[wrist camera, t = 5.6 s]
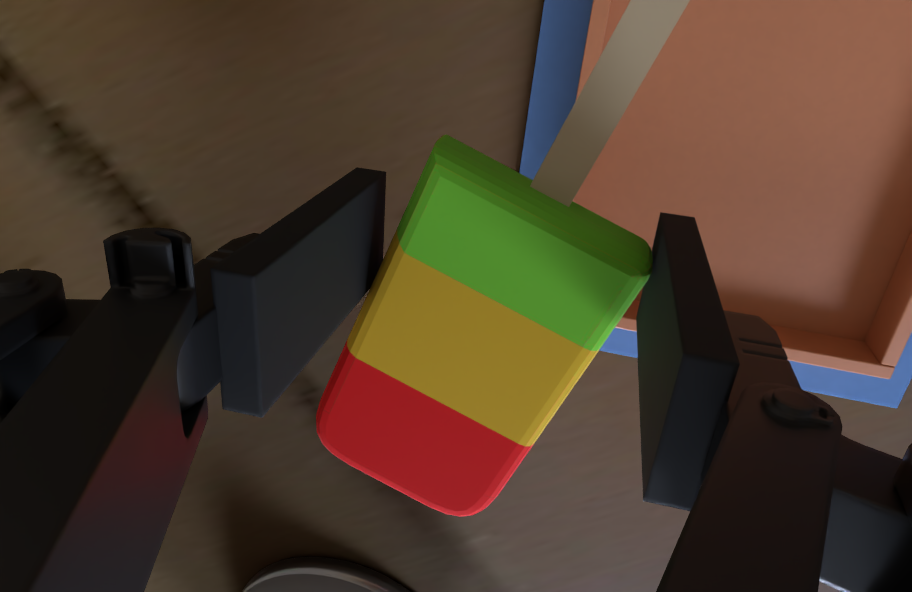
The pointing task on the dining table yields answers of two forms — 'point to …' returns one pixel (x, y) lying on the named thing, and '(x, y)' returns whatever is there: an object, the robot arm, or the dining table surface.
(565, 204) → the popsicle
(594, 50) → the tray
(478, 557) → the dining table surface
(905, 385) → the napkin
